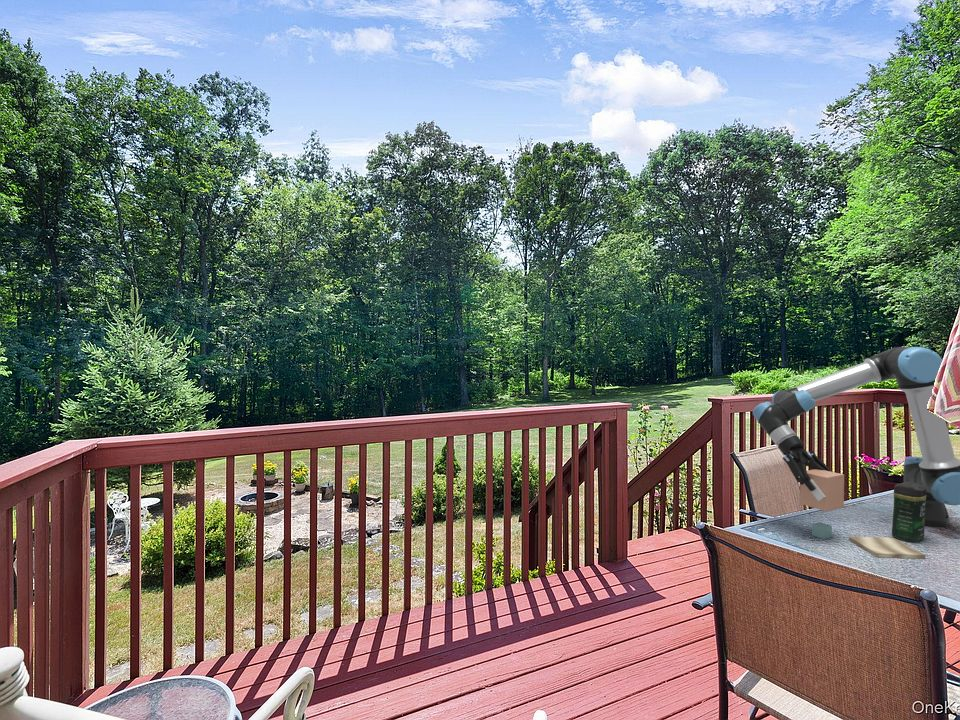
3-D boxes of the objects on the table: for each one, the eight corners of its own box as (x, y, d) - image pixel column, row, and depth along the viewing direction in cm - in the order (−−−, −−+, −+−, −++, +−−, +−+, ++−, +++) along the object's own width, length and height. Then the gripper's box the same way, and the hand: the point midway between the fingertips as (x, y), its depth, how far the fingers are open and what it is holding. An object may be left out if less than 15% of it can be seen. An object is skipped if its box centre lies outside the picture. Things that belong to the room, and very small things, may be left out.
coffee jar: (917, 544, 176) (919, 487, 175) (888, 537, 183) (890, 482, 182) (928, 538, 182) (930, 483, 181) (899, 531, 188) (901, 478, 187)
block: (819, 533, 186) (820, 522, 186) (831, 537, 182) (831, 525, 182) (812, 535, 184) (812, 523, 184) (823, 539, 181) (824, 527, 181)
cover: (817, 500, 189) (817, 468, 189) (843, 507, 181) (844, 474, 181) (799, 503, 185) (800, 471, 185) (826, 511, 177) (827, 477, 177)
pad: (894, 541, 179) (894, 538, 179) (925, 558, 165) (925, 554, 165) (848, 540, 180) (849, 536, 180) (876, 557, 166) (876, 553, 166)
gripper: (799, 444, 201) (843, 498, 187) (759, 449, 192) (802, 507, 178) (814, 432, 196) (860, 486, 182) (773, 437, 187) (818, 495, 173)
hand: (831, 496), depth 180 cm, fingers closed on cover, 9 cm apart
